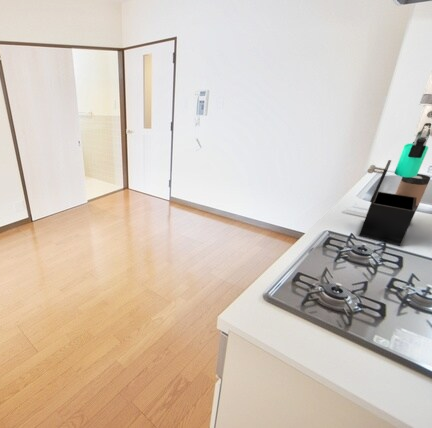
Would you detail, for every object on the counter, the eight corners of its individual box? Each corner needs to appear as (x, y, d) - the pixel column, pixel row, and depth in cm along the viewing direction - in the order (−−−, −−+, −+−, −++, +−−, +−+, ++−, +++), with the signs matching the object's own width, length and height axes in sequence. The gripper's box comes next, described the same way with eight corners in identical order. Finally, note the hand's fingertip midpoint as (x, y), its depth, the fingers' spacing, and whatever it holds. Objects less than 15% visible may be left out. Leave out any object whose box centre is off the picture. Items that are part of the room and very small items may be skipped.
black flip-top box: (402, 229, 111) (416, 197, 105) (399, 246, 101) (415, 211, 95) (364, 221, 119) (376, 191, 113) (358, 235, 108) (370, 203, 103)
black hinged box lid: (391, 160, 107) (373, 157, 110) (387, 170, 97) (368, 167, 100) (377, 190, 113) (361, 187, 116) (372, 202, 102) (354, 198, 106)
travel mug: (410, 227, 112) (431, 180, 104) (384, 222, 117) (403, 176, 109) (409, 220, 117) (430, 175, 109) (385, 215, 122) (403, 172, 114)
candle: (398, 168, 105) (409, 137, 99) (420, 172, 101) (433, 140, 94) (391, 174, 103) (402, 144, 97) (413, 179, 99) (426, 147, 92)
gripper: (456, 102, 82) (430, 162, 90) (453, 98, 93) (430, 152, 100) (419, 102, 87) (398, 159, 95) (421, 98, 98) (401, 149, 105)
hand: (414, 154), depth 97 cm, fingers closed on candle, 6 cm apart
